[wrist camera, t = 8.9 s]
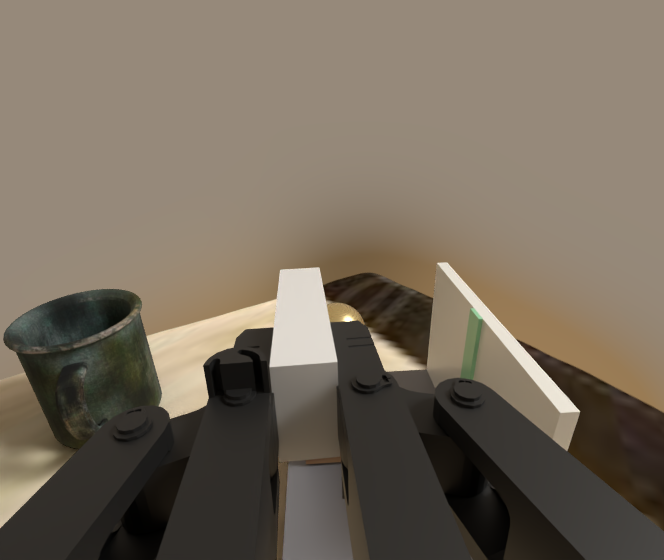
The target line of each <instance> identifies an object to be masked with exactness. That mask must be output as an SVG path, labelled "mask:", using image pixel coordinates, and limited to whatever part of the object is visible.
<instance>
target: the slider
mask: <svg viewBox="0 0 664 560" xmlns="http://www.w3.org/2000/svg"><path fill="white" fill-rule="evenodd" d="M327 310H328V315H329V320H330V322H343V321H357V320H358V321H360V322H361V323H362V324H364V321H363V319H362V317H361V316H360V314H359V313H358V312H357V311H356V310H355V309H354V308H352V307H351V306H349V305H346V304H342V303H331V304H328V305H327ZM364 325H365V324H364ZM333 462H341V453H340V457H331V458H321V459H310V460H306V464H318V463H333Z"/></svg>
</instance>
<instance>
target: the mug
mask: <svg viewBox="0 0 664 560" xmlns="http://www.w3.org/2000/svg"><path fill="white" fill-rule="evenodd" d="M141 307H142V302H141V300H140V298H139V297H138V296H137V295H136V294H134V293H132V292H129V291H125V290H119V289H101V290H92V291H85V292H80V293H76V294H72V295H68V296H64V297H61V298H58V299H55V300H52V301H49V302H47V303H45V304H42V305H40V306H38V307H36V308H34V309H32V310H30V311H28V312H26V313H25V314H23V315H22V316H20V317H19V318H18V319H16V320H15V321H14V322H13V323H12V324H11V325H10V326H9V327H8V328H7V329H6V331H5V333H4V339H3V340H4V343H5V345H6V346H7V347H8V348H9V349H11V350H13V351H15V352H16V353H17V355H18V358H19V360H20V362H21V364H22V366H23V368H24V371H25V373H26V375H27V377H28V379H29V381H30V384H31V386H32V388H33V390H34V392H35V394H36V397H37V399H38V401H39V403H40V405H41V407H42V410H43V412H44V414H45V416H46V418H47V420H48V423H49V425H50V427H51V429H52V431H53V433H54V436H55V438H56V439H57V440H58V441H59V442H60V443H62V444H63V445H65V446H69V447H72V448H75V449H80V448H81V447H82V446H83V445H84V444H85V443H86V442H87V441H88V440H89V439H90V438H91V437H92V436H93V435H94V434H95V433H96V432H97V431H98V430H99V429H100V428H101V427H102V426H103V425H104V424H105V423H107V422H108V421H109V420H110V419H112V418H113V417H114V416H116V415H118V414H120V413H122V412H124V411H126V410H129V409H132V408H135V407H139V406H150V405H154V406H159V403H160V400H161V395H162V392H161V387H160V384H159V380H158V377H157V373H156V370H155V366H154V362H153V359H152V355H151V352H150V348H149V345H148V341H147V337H146V334H145V330H144V327H143V323H142V320H141V316H140V311H141Z"/></svg>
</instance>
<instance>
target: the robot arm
mask: <svg viewBox="0 0 664 560" xmlns="http://www.w3.org/2000/svg"><path fill="white" fill-rule="evenodd" d="M203 367H204V373H205V378H206V384H207V390H208V395H209V399H208V402H207V405H206V406H205V407H203V408H201V409H199V410H197V411H194V412H191V413H188V414H185V415H182V416H178V417H175V418H172V419H170V417H169V413H168V412H167V411H166V410H165V409H164V408H162V407H158V406H154V405H150V406H139V407H135V408H132V409H129V410H126V411H124V412H122V413H120V414H118V415H116V416H114V417H113V418H112V419H110V420H109V421H108V422H107V423H105V424H104V425H103V426H102V427H101V428H100V429H99V430H98V431H97V432H96V433H95V434H94V435H93V436H92V437H91V438H90V439H89V440H88V441H87V442H86V443H85V444H84V445H83V446H82V447H81V448H80V449H79V450H78V451H77V452H76V453H75V454H74V455H73V456H72V457H71V458H70V459H69V460H68V461H67V462H66V463H65V464H64V465H63V466H62V467H61V468H60V469H59V470H58V471H57V472H56V473H55V474H54V475H53V476H52V477H51V478H50V479H49V480H48V481H47V482H46V483H45V484H44V485H43V486H42V487H41V488H40V489H39V490H38V491H37V492H36V493H35V494H34V495H33V496H32V497H31V498H30V499H29V500H28V501H27V502H26V503H25V504H24V505H23V506H22V507H21V508H20V509H19V510H18V511H17V512H16V513H15V514H14V515H13V516H12V517H11V518H10V519H9V520H8V521H7V522H6V523H5V524H4V525H3V526H2V527H1V528H0V560H276V555H277V531H278V507H279V483H280V481H279V472H278V455H279V463H280V462H290V461H300V460H310V459H321V458H331V457H340V453H341V471H342V499H345V503H346V511H347V518H348V525H349V533H350V540H351V547H352V555H353V560H472V559H473V560H664V531H663V530H661V529H660V528H659V527H658V526H657V525H655V524H654V523H653V522H652V521H650V520H649V519H648V518H647V517H646V516H644V515H643V514H642V513H641V512H640V511H638V510H637V509H636V508H635V507H634V506H632V505H631V504H630V503H629V502H628V501H626V500H625V499H624V498H623V497H622V496H620V495H619V494H618V493H617V492H615V491H614V490H613V489H612V488H611V487H609V486H608V485H607V484H606V483H605V482H603V481H602V480H601V479H600V478H599V477H597V476H596V475H595V474H594V473H593V472H591V471H590V470H589V469H588V468H587V467H585V466H584V465H583V464H582V463H580V462H579V461H578V460H577V459H576V458H574V457H573V456H572V455H571V454H570V453H568V452H567V451H566V450H565V449H564V448H562V447H561V446H560V445H559V444H558V443H556V442H555V441H554V440H553V439H552V438H550V437H549V436H548V435H547V434H546V433H544V432H543V431H542V430H541V429H539V428H538V427H537V426H536V425H535V424H533V423H532V422H531V421H530V420H529V419H527V418H526V417H525V416H524V415H523V414H521V413H520V412H519V411H518V410H517V409H515V408H514V407H513V406H512V405H511V404H509V403H508V402H507V401H506V400H504V399H503V398H502V397H501V396H500V395H498V394H497V393H496V392H495V391H494V390H492V389H491V388H489V387H488V386H486V385H484V384H483V383H480V382H477V381H474V380H471V379H464V378H452V379H447V380H445V381H442V382H440V383H439V384H438V385H437V387H436V388H435V394H428V393H420V392H414V391H410V390H406V389H404V388H401V387H399V385H398V383H397V381H396V380H395V378H394V377H393V376H392V375H391V374H389V373H387V372H386V371H384V368H383V366H382V363H381V360H380V358H379V355H378V353H377V350H376V348H375V346H374V342H373V340H372V338H371V335H370V332H369V330H368V327H366V326H365V325H364V324H362V323H361V322H360V321H358V320H357V321H343V322H330V320H329V315H328V310H327V305H326V300H325V294H324V289H323V284H322V279H321V274H320V269H319V268H304V269H286V270H280V277H279V285H278V294H277V303H276V312H275V321H274V328H260V329H246V330H245V331H244V332H242V333H241V334H240V335H239V336H238V337H237V338H236V341H235V345H234V348H230V349H226V350H224V351H221V352H218V353H216V354H215V355H213V356H212V357H210V358H209V359H208V360H207V361H206V362H205V364H204V365H203ZM471 557H472V559H471Z"/></svg>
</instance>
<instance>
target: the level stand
mask: <svg viewBox="0 0 664 560" xmlns="http://www.w3.org/2000/svg"><path fill="white" fill-rule="evenodd" d="M434 289H435V290H434V299H433V309H432V320H431V330H430V341H429V351H428V361H427V370H411V371H394V372H387V373H389V374H391V375H392V376H393V377H394V378H395V380H396V381H397V383H398V385H399V387H401V388H404V389H406V390H410V391H414V392H420V393H428V394H435V388H436V387H437V385H438V384H439V383H440V382H442V381H445V380H447V379H452V378H464V379H471V380H474V381H477V382H480V383H483V384H484V385H486V386H488V387H489V388H491V389H492V390H494V391H495V392H496V393H497V394H498V395H500V396H501V397H502V398H503V399H504V400H506V401H507V402H508V403H509V404H511V405H512V406H513V407H514V408H515V409H517V410H518V411H519V412H520V413H521V414H523V415H524V416H525V417H526V418H527V419H529V420H530V421H531V422H532V423H533V424H535V425H536V426H537V427H538V428H539V429H541V430H542V431H543V432H544V433H546V434H547V435H548V436H549V437H550V438H552V439H553V440H554V441H555V442H556V443H558V444H559V445H560V446H561V447H562V448H564V449H565V450H566V451H567V450H568V447H569V444H570V441H571V438H572V435H573V432H574V429H575V426H576V423H577V420H578V417H579V413H580V411H579V410H578V409H577V408H576V407H575V405H574V404H573V403H572V402H571V401H570V400H569V399H568V398H567V397H566V395H565V394H564V393H563V392H562V391H561V390H560V389H559V388H558V386H557V385H556V384H555V383H554V382H553V381H552V380H551V379H550V377H549V376H548V375H547V374H546V373H545V372H544V371H543V370H542V369H541V367H540V366H539V365H538V364H537V363H536V362H535V361H534V360H533V358H532V357H531V356H530V355H529V354H528V353H527V352H526V351H525V349H524V348H523V347H522V346H521V345H520V344H519V343H518V342H517V341H516V339H515V338H514V337H513V336H512V335H511V334H510V333H509V332H508V330H507V329H506V328H505V327H504V326H503V325H502V324H501V323H500V321H499V320H498V319H497V318H496V317H495V316H494V315H493V314H492V313H491V311H489V309H488V308H487V307H486V306H485V305H484V304H483V302H482V301H481V300H480V299H479V298H478V297H477V296H476V295H475V294H474V293H473V291H472V290H471V289H470V288H469V287H468V286H467V284H466V283H465V282H464V281H463V280H462V279H461V278H460V277H459V276H458V274H457V273H456V272H455V271H454V270H453V269H452V268H451V267H450V265H448V263H437V269H436V278H435V288H434ZM471 559H472V557H471ZM282 560H353V555H352V547H351V540H350V533H349V525H348V518H347V511H346V503H345V499H342V471H341V462H333V463H318V464H306V460H300V461H290V462H289V463H288V479H287V495H286V511H285V526H284V542H283V558H282ZM472 560H473V559H472Z"/></svg>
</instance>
